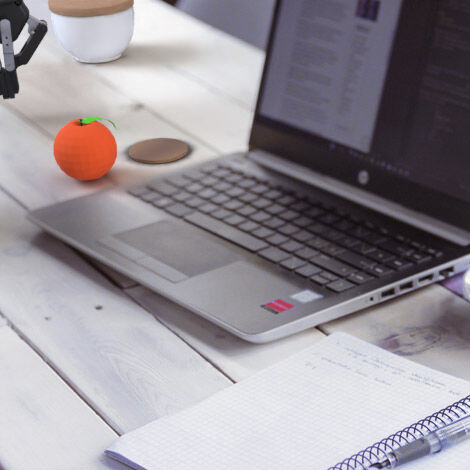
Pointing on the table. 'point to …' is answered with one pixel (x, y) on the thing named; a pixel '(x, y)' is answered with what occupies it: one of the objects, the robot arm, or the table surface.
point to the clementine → (85, 149)
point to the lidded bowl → (93, 27)
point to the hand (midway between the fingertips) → (9, 96)
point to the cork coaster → (158, 150)
